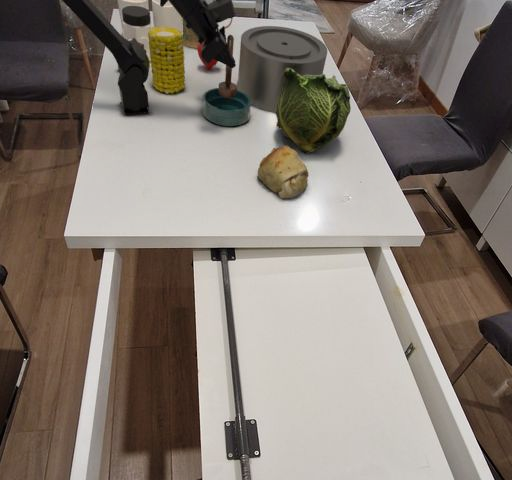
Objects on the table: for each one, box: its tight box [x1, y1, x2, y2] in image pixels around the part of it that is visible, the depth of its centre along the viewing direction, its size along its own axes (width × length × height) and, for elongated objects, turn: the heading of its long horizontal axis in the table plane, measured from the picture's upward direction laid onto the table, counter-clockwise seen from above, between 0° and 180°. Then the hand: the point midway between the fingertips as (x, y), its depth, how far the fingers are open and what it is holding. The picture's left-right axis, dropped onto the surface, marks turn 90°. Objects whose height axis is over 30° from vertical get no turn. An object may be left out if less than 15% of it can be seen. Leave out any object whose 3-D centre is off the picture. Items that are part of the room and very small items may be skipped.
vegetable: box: [275, 68, 352, 155], centre depth 109 cm, size 20×19×20 cm
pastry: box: [257, 145, 309, 200], centre depth 101 cm, size 14×12×8 cm
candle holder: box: [116, 0, 150, 38], centre depth 136 cm, size 10×10×12 cm
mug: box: [182, 17, 234, 50], centre depth 142 cm, size 12×18×12 cm, turn 89°
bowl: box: [202, 87, 252, 127], centre depth 118 cm, size 13×13×4 cm
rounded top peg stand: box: [217, 34, 238, 98], centre depth 109 cm, size 5×5×14 cm
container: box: [237, 25, 328, 114], centre depth 126 cm, size 25×25×13 cm
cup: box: [151, 0, 183, 34], centre depth 130 cm, size 7×7×15 cm
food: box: [148, 26, 186, 95], centre depth 120 cm, size 15×12×10 cm
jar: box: [122, 6, 152, 62], centre depth 130 cm, size 9×8×12 cm
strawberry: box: [196, 42, 219, 71], centre depth 131 cm, size 6×8×10 cm
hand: (234, 65), depth 109 cm, fingers closed on rounded top peg stand
